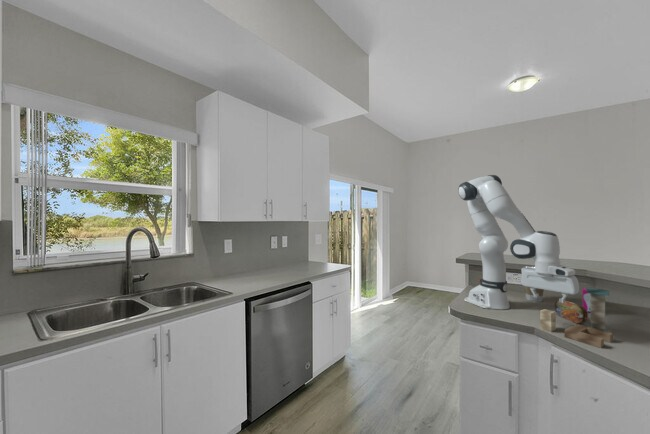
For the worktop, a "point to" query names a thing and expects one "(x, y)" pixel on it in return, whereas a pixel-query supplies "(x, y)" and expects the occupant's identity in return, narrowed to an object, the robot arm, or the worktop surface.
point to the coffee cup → (531, 297)
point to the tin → (571, 311)
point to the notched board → (588, 335)
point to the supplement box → (586, 300)
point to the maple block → (548, 320)
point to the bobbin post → (597, 307)
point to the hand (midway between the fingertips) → (548, 300)
